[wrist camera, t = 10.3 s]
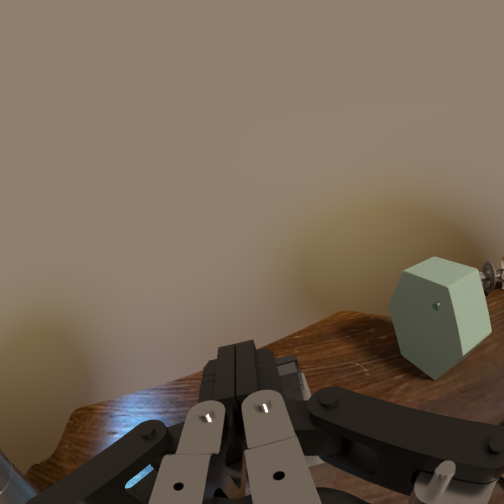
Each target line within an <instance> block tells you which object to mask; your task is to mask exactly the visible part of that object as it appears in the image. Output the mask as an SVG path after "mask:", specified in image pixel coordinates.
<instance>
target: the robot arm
mask: <svg viewBox="0 0 504 504" xmlns="http://www.w3.org/2000/svg"><path fill="white" fill-rule="evenodd" d="M202 376H203V377H202V381H201V383H202V384H201V388H200V394H199V400H198V404H197V405H195V406H193V407H192V408H191V409H190V410H189V412H188V414H187V416H186V420H185V421H184V422H182V423H179V424H176V425H174V426H171V427H168V428H167V427H166V426H165V424H164V423H163V422H161V421H159V420H148V421H145V422H142V423H141V424H139V425H137V426H136V427H135V428H134V429H132V430H131V431H130V432H128V433H127V434H126V435H124V436H123V437H121V438H120V439H119V440H117V441H116V442H115V443H113V444H112V445H111V446H109V447H108V448H106V449H105V450H104V451H102V452H101V453H99V454H98V455H97V456H95V457H94V458H92V459H91V460H89V461H88V462H87V463H85V464H84V465H82V466H81V467H79V468H78V469H76V470H75V471H73V472H72V473H70V474H69V475H67V476H66V477H64V478H63V479H61V480H60V481H58V482H57V483H55V484H54V485H52V486H50V487H49V488H47V489H46V490H44V491H42V492H41V491H40V490H39V489H38V488H37V487H36V486H35V485H34V484H33V483H32V482H31V481H30V480H29V479H28V478H27V477H26V476H25V475H24V474H23V473H22V472H21V471H20V470H19V469H18V468H17V467H16V466H15V465H14V464H13V463H12V462H11V461H10V460H9V458H8V457H7V456H6V455H5V454H4V453H3V452H2V451H1V449H0V504H370V503H368V502H366V501H364V500H361V499H359V498H357V497H355V496H353V495H351V494H349V493H346V492H343V491H340V490H336V489H332V488H323V487H315V484H314V481H313V479H312V476H311V473H310V471H309V468H308V465H307V462H306V460H305V457H304V456H319V458H320V459H321V460H322V461H324V462H326V463H328V464H330V465H332V466H335V467H337V468H339V469H341V470H343V471H346V472H348V473H350V474H352V475H355V476H357V477H359V478H362V479H364V480H367V481H369V482H372V483H374V484H377V485H379V486H382V487H385V488H387V489H390V490H393V491H396V492H399V493H402V494H405V495H408V496H410V497H409V504H487V503H488V501H489V498H490V496H491V494H492V491H493V489H494V486H495V484H496V482H497V481H498V480H499V478H500V477H501V476H502V474H503V473H504V426H500V425H493V424H486V423H480V422H474V421H468V420H463V419H458V418H452V417H448V416H443V415H438V414H434V413H429V412H425V411H421V410H417V409H413V408H409V407H405V406H401V405H397V404H394V403H390V402H386V401H383V400H379V399H376V398H373V397H369V396H366V395H363V394H359V393H356V392H353V391H350V390H347V389H344V388H340V387H327V388H323V389H321V390H318V391H317V392H315V393H314V394H313V395H312V396H311V397H310V398H309V400H293V399H290V398H288V397H286V396H285V395H284V392H283V387H282V383H281V379H280V375H279V371H278V368H277V364H276V360H275V357H274V353H273V352H272V351H271V350H269V349H268V348H263V349H259V350H256V347H255V344H254V341H253V340H249V341H244V342H240V343H236V344H232V345H228V346H223V347H219V348H218V356H217V359H215V360H210V361H209V362H208V363H207V365H206V366H205V367H204V369H203V375H202ZM244 440H247V446H248V448H246V449H245V443H244ZM149 464H150V465H151V466H152V467H153V468H154V470H152V471H151V472H150V473H149V474H148V475H146V476H145V477H144V478H143V479H141V480H140V481H139V482H138V483H136V484H135V485H134V486H132V487H131V488H125V485H126V483H127V482H128V481H129V480H130V479H132V478H133V477H134V476H136V475H137V474H138V473H139V472H141V471H142V470H143V469H144V468H146V467H147V466H148V465H149ZM246 464H247V471H248V477H249V483H250V489H251V495H248V496H246V495H245V484H246Z"/></svg>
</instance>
